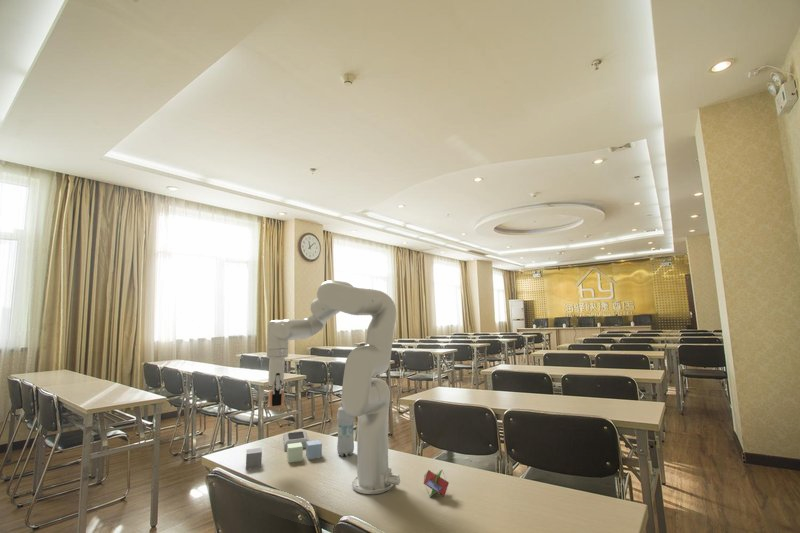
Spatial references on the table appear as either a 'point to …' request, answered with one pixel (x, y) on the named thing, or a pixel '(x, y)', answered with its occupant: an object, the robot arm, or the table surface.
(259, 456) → the gray block
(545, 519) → the table surface
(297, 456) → the sage-green block
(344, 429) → the bottle
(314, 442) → the slate-blue block
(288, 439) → the gray dark-screened device
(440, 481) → the geometric puzzle
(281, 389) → the terracotta block
